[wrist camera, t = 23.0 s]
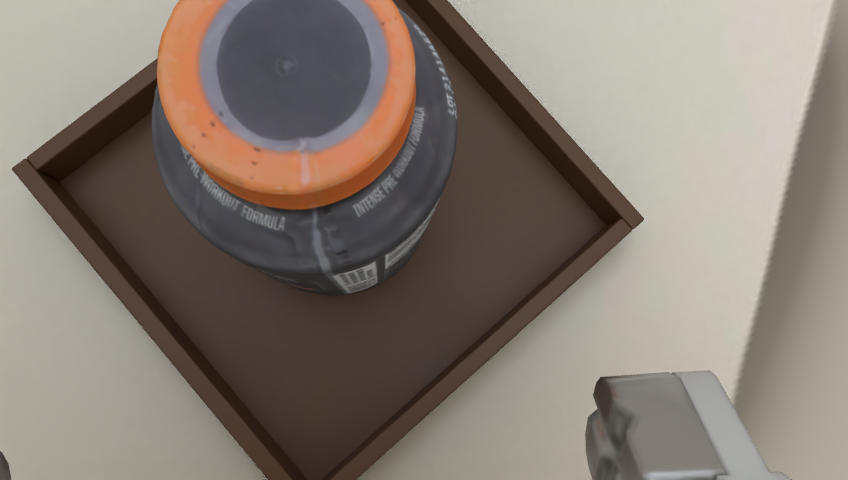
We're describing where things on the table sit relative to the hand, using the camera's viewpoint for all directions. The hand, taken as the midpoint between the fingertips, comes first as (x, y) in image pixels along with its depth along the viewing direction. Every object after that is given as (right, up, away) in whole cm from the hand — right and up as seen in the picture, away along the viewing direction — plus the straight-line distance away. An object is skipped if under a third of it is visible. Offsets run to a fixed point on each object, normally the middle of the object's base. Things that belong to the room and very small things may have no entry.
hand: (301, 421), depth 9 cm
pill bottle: (-1, +4, +12) cm, 13 cm away
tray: (-1, +4, +13) cm, 13 cm away
